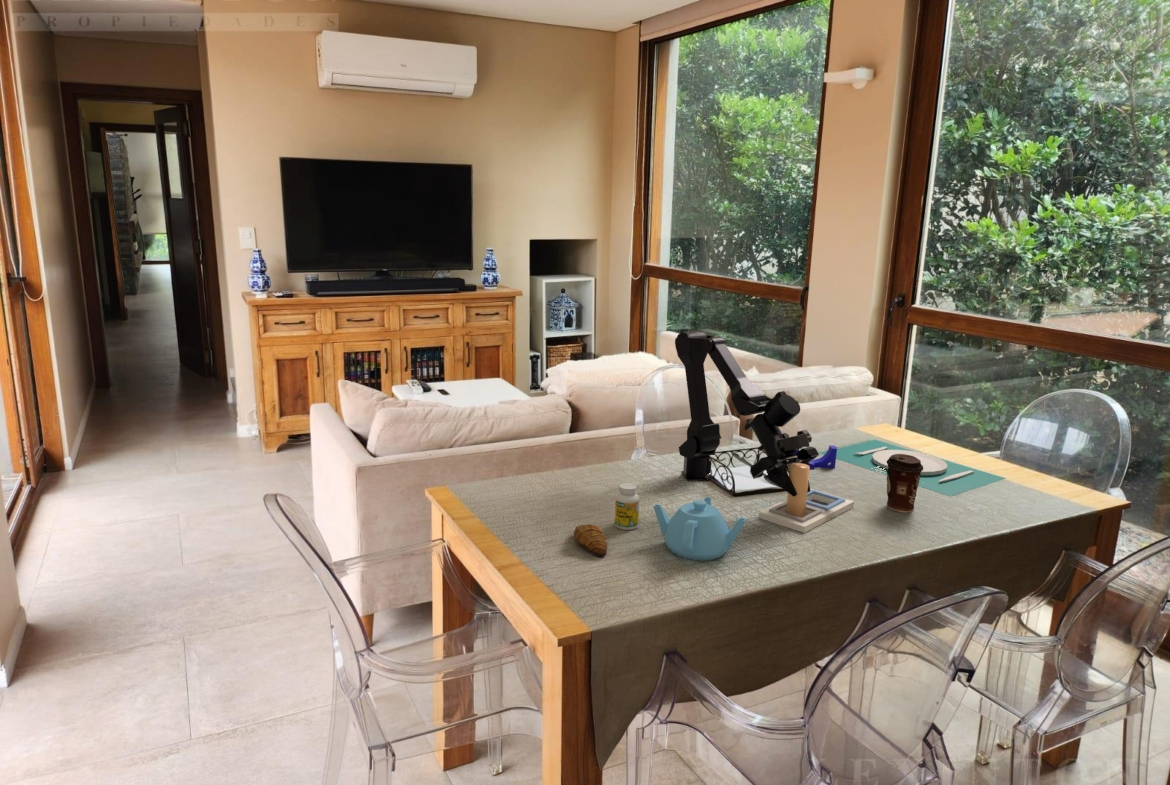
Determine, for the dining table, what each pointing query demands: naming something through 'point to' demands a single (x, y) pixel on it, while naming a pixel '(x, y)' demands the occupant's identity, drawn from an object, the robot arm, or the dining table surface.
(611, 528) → the dining table surface
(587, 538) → the croissant
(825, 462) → the blue cradle holder
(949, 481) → the place mat
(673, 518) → the teapot
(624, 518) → the supplement bottle
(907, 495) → the coffee cup
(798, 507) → the orange plug
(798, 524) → the socket tray
